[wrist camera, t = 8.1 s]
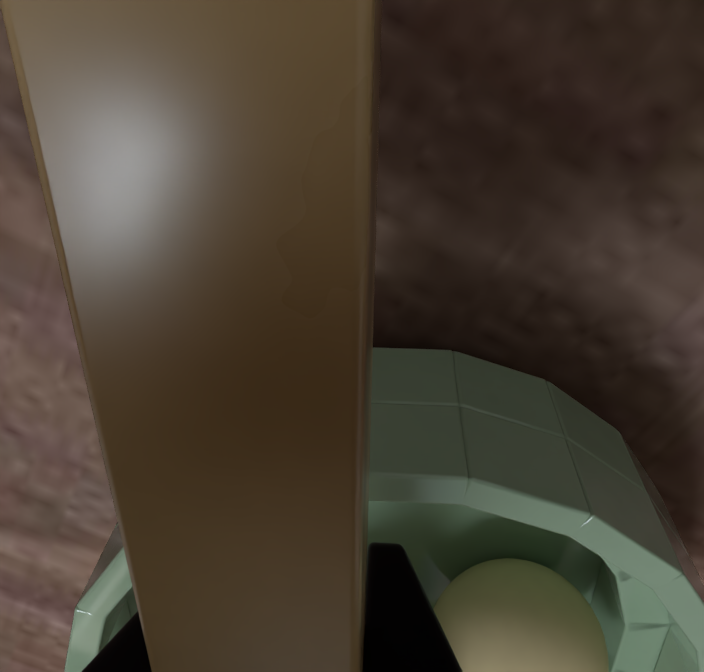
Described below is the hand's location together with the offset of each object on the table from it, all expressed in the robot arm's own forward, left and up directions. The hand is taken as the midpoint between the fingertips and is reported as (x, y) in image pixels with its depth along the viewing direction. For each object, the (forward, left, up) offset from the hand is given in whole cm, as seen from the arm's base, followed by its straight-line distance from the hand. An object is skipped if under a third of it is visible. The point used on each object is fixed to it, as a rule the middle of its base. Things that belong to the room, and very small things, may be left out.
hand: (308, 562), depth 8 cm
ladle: (0, +2, -4) cm, 4 cm away
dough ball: (-4, +7, -6) cm, 10 cm away
